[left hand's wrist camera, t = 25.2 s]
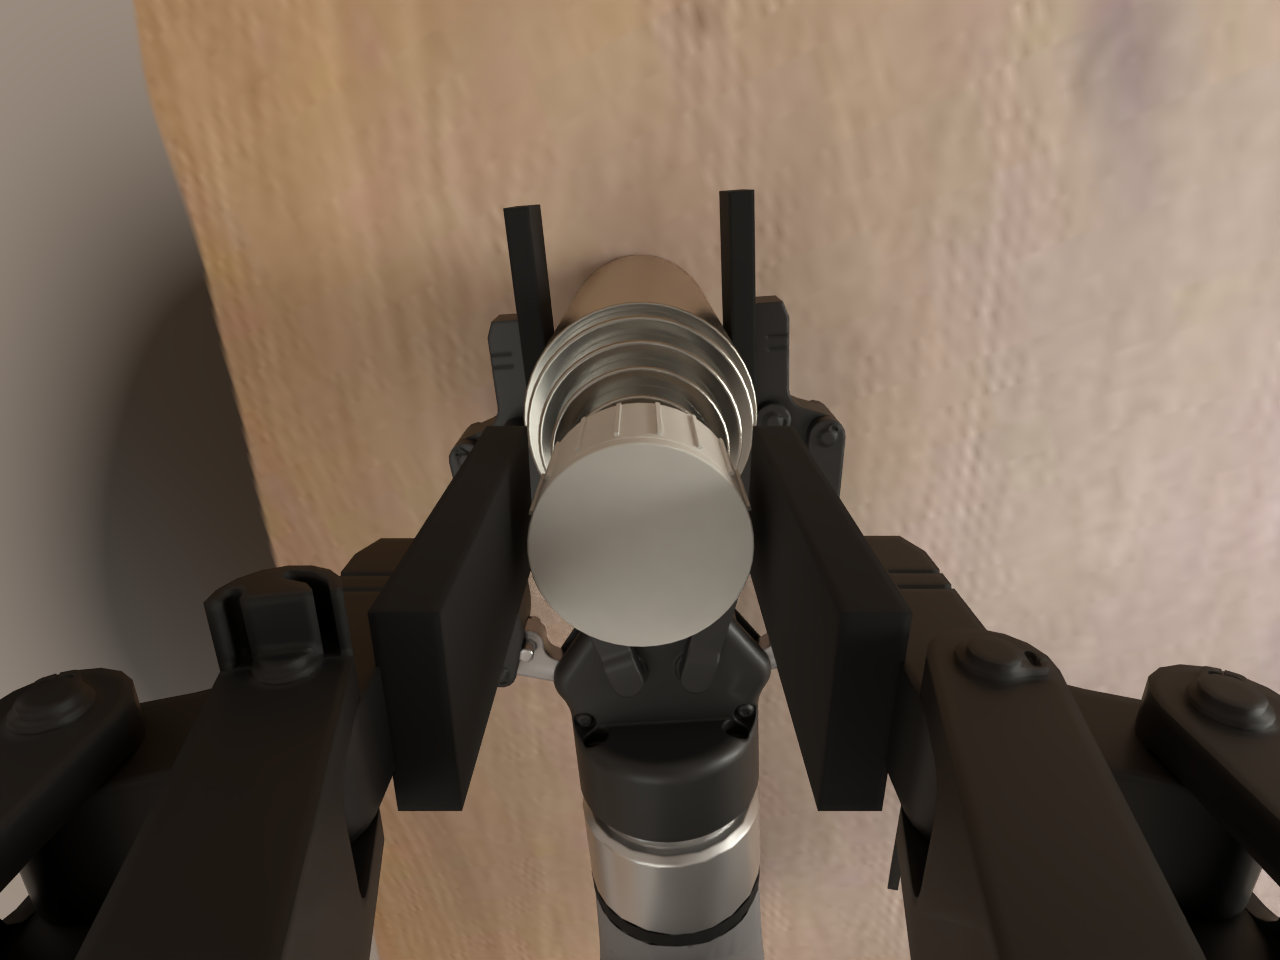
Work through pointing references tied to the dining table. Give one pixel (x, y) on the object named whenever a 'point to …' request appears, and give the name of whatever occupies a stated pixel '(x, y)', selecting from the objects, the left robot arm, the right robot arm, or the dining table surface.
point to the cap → (640, 527)
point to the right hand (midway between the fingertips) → (628, 199)
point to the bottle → (640, 358)
